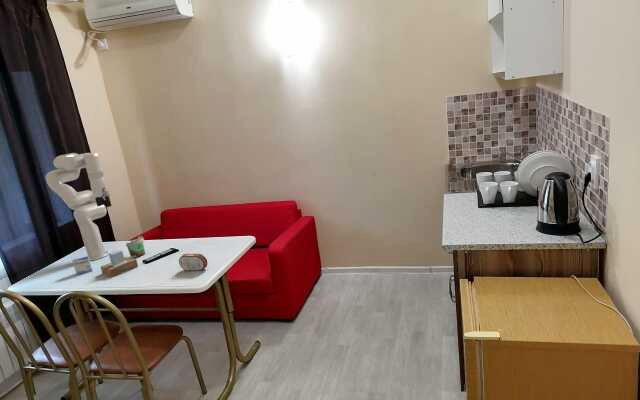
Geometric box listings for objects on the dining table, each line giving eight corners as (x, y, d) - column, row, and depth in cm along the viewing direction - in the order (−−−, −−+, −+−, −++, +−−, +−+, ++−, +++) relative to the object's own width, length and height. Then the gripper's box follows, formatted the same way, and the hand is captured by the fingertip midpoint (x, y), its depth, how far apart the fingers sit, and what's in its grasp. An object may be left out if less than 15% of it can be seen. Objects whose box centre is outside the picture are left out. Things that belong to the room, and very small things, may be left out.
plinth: (102, 273, 243) (100, 266, 242) (127, 263, 254) (125, 256, 253) (113, 277, 236) (110, 269, 235) (138, 266, 246) (136, 259, 245)
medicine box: (76, 275, 248) (72, 260, 245) (76, 273, 251) (72, 258, 249) (92, 271, 251) (88, 256, 249) (92, 268, 255) (88, 254, 253)
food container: (139, 259, 258) (135, 242, 256) (130, 259, 260) (125, 243, 257) (151, 251, 270) (147, 235, 268) (142, 251, 271) (138, 235, 269)
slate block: (111, 264, 244) (108, 253, 242) (120, 260, 247) (117, 250, 246) (115, 265, 240) (112, 254, 239) (125, 261, 244) (122, 251, 242)
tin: (209, 268, 226) (205, 252, 224) (205, 271, 223) (202, 255, 221) (183, 269, 231) (180, 253, 229) (180, 271, 228) (176, 255, 226)
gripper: (82, 177, 253) (90, 207, 257) (96, 177, 241) (104, 209, 246) (95, 174, 258) (104, 203, 262) (110, 174, 247) (118, 205, 251)
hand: (104, 206), depth 254 cm, fingers open, 9 cm apart
